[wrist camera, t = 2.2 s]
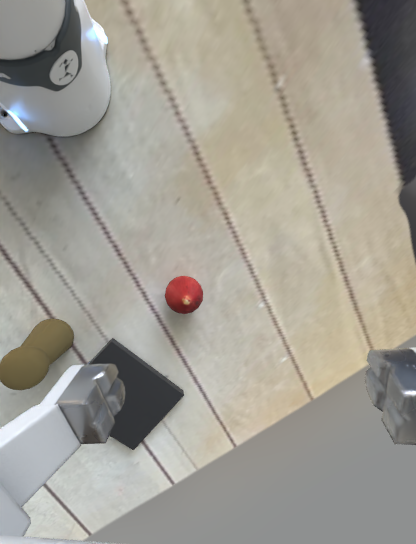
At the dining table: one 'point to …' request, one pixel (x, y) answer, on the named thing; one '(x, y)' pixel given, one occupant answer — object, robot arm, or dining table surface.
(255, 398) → the dining table surface
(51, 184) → the dining table surface
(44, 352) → the cork
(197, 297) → the onion
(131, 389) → the scale
